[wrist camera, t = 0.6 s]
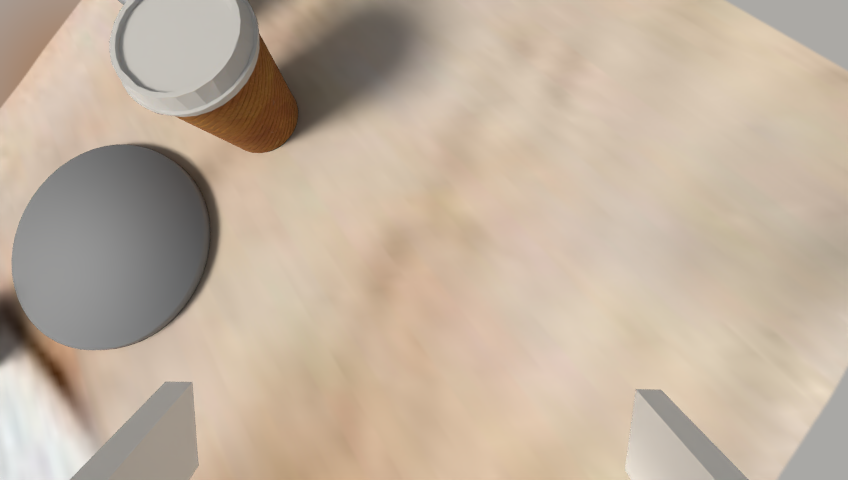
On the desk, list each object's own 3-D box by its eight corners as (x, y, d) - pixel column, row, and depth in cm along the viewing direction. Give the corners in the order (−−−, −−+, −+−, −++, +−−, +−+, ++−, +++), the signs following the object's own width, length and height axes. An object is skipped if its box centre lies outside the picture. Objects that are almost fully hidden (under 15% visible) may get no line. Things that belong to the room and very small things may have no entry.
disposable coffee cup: (287, 187, 40) (203, 127, 28) (191, 149, 42) (75, 77, 30) (335, 85, 41) (274, -14, 30) (240, 52, 43) (147, -53, 31)
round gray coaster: (50, 143, 44) (40, 138, 43) (227, 155, 41) (221, 150, 40) (0, 336, 41) (-12, 336, 40) (187, 362, 38) (179, 363, 37)
